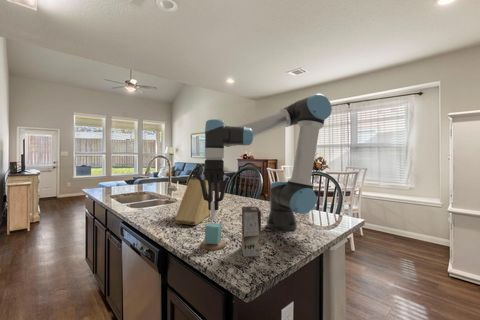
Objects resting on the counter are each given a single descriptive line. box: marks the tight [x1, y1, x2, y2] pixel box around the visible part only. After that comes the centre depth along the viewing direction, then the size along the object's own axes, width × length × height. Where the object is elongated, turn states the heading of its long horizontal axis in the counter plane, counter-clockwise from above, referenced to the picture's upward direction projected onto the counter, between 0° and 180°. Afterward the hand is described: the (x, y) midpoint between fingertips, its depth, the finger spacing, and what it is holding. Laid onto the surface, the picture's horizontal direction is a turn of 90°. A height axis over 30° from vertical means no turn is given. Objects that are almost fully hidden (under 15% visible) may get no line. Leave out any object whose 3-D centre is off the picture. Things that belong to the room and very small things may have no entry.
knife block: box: [174, 163, 215, 226], centre depth 133 cm, size 11×35×31 cm, turn 170°
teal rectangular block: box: [204, 222, 222, 244], centre depth 92 cm, size 5×5×7 cm
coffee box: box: [241, 206, 262, 258], centre depth 86 cm, size 9×6×16 cm
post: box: [200, 239, 227, 251], centre depth 92 cm, size 10×10×8 cm
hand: (213, 218), depth 92 cm, fingers closed
